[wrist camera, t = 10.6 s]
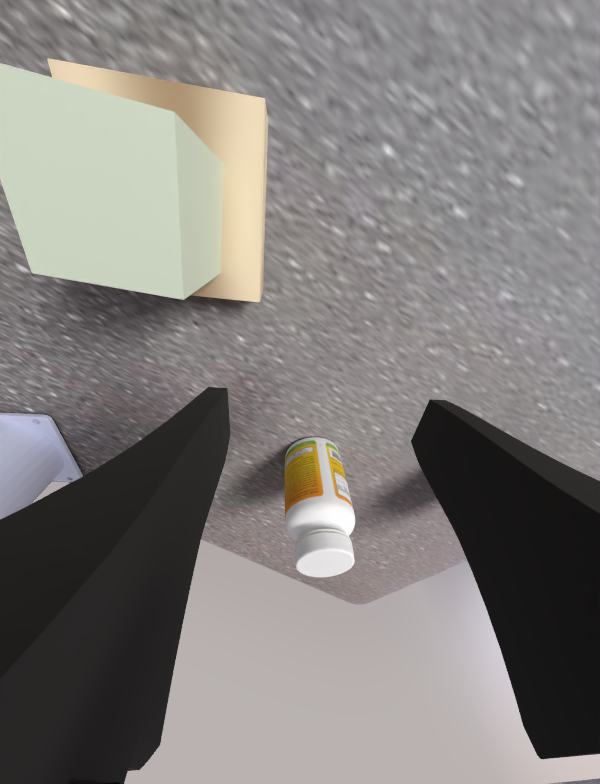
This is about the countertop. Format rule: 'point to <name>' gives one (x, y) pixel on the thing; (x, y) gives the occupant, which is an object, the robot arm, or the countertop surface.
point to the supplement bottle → (318, 508)
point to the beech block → (228, 142)
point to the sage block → (108, 187)
